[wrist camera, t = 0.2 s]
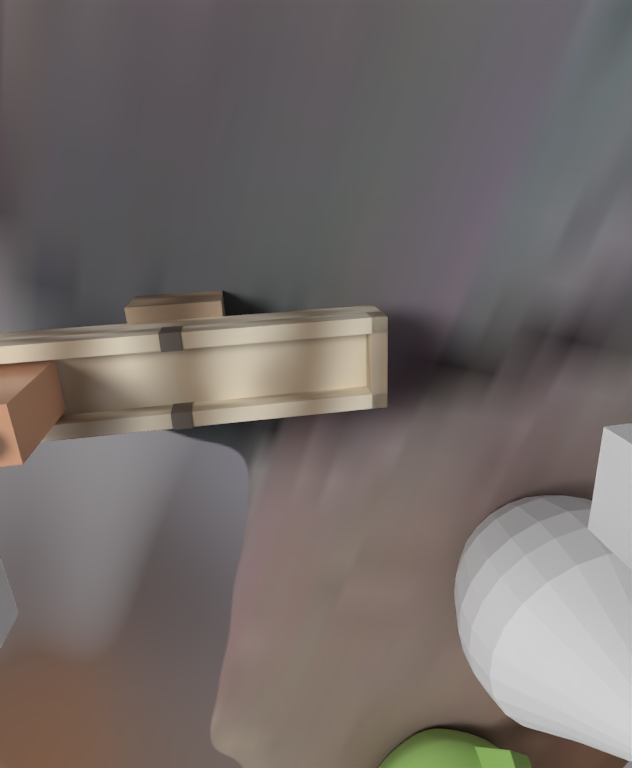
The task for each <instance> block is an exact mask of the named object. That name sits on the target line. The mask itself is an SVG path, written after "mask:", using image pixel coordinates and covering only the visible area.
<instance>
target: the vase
mask: <svg viewBox="0 0 632 768" xmlns="http://www.w3.org/2000/svg"><path fill="white" fill-rule="evenodd" d="M591 505H592V501H591V500H588V499H585V498H578V497H571V496H564V495H543V496H533V497H526V498H523V499H520V500H517V501H514V502H511V503H508V504H507V505H505V506H503V507H501V508H500V509H498V510H496V511H495V512H493V513H491V514H490V515H489V516H488V517H487V518H486V519H485V520H484V521H483V522H482V523H480V524H479V525H478V526H477V527H476V529H475V530H474V532H473V533H472V535H471V536H470V537H469V539H468V540H467V542H466V544H465V547H464V549H463V552H462V554H461V557H460V561H459V565H458V569H457V573H456V581H455V592H454V597H455V605H456V614H457V622H458V631H459V635H460V639H461V643H462V647H463V651H464V654H465V656H466V658H467V660H468V662H469V664H470V666H471V668H472V670H473V672H474V674H475V676H476V677H477V679H478V680H479V681H480V683H481V684H482V686H483V687H484V689H485V690H486V691H487V692H488V694H489V695H490V696H491V697H492V699H493V700H494V701H495V702H496V703H497V705H498V706H499V707H500V708H501V709H502V711H503V712H504V713H505V714H506V715H507V716H509V717H510V718H512V719H513V720H515V721H516V722H518V723H519V724H521V725H522V726H524V727H528V728H531V729H535V730H538V731H542V732H545V733H549V734H552V735H556V736H559V737H563V738H566V739H570V740H573V741H576V742H580V743H582V744H585V745H588V746H590V747H593V748H596V749H599V750H601V751H604V752H607V753H609V754H612V755H615V756H617V757H620V758H623V759H625V760H628V761H631V762H632V570H631V569H630V568H629V567H628V566H627V565H626V564H624V563H623V562H622V561H621V560H620V559H619V558H618V557H617V556H616V555H615V554H614V553H613V552H612V551H611V550H610V549H608V548H607V547H606V546H605V545H604V544H603V543H602V542H601V541H600V540H599V539H598V538H597V537H596V536H595V535H593V534H592V533H591V532H590V531H589V530H588V524H589V517H590V511H591Z"/></svg>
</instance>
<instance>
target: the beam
mask: <svg viewBox="0 0 632 768" xmlns="http://www.w3.org/2000/svg"><path fill="white" fill-rule="evenodd" d="M124 309H125V314H126V320H127V324H114V325H101V326H87V327H74V328H61V329H47V330H34V331H21V332H7V333H0V364H10V363H22V362H35V361H47V360H55V363H56V367H57V372H58V376H59V380H60V385H61V389H62V393H63V398H64V402H65V406H66V410H65V412H64V413H63V414H62V415H61V417H60V418H59V419H58V420H57V422H56V423H55V424H54V425H53V427H52V428H51V429H50V431H49V432H48V433H47V434H46V436H45V437H44V438H43V439H42V441H41V442H46V441H55V440H66V439H76V438H86V437H95V436H106V435H116V434H125V433H135V432H145V431H155V430H165V429H173V430H179V429H189V428H193V427H195V426H205V425H215V424H225V423H234V422H244V421H254V420H264V419H274V418H284V417H294V416H304V415H314V414H324V413H333V412H343V411H353V410H363V409H373V408H383V407H387V364H388V316H387V315H385V314H384V313H383V312H381V311H380V310H379V309H378V308H376V307H375V306H374V305H368V306H354V307H341V308H328V309H314V310H301V311H288V312H274V313H261V314H248V315H234V316H225V310H224V300H223V291H208V292H193V293H178V294H164V295H149V296H136V297H135V298H134V299H133V300H132V301H131V302H130V303H129V304H128V305H127V306H126V307H125V308H124Z"/></svg>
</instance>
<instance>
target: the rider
mask: <svg viewBox="0 0 632 768" xmlns="http://www.w3.org/2000/svg"><path fill="white" fill-rule="evenodd" d="M65 410H66V406H65V402H64V398H63V393H62V389H61V385H60V380H59V376H58V372H57V367H56V363H55V360H47V361H35V362H22V363H10V364H0V467H2V466H12V465H21V464H24V462H25V461H26V460H27V458H28V457H29V456H30V455H31V453H32V452H33V451H34V450H35V448H36V447H37V446H38V444H39V443H40V442H41V441H42V439H43V438H44V437H45V436H46V434H47V433H48V432H49V431H50V429H51V428H52V427H53V425H54V424H55V423H56V422H57V420H58V419H59V418H60V417H61V415H62V414H63V413H64V412H65Z"/></svg>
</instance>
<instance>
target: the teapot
mask: <svg viewBox="0 0 632 768" xmlns="http://www.w3.org/2000/svg"><path fill="white" fill-rule="evenodd" d="M378 768H532V766H531V763H530V760H529V757H528V756H527V755H524V754H521V753H517V752H514V751H511V750H504V749H499V748H498V747H496V746H495V745H493V744H492V743H490V742H488V741H487V740H485V739H483V738H480V737H478V736H475V735H472V734H469V733H466V732H461V731H457V730H450V729H429V730H425V731H422V732H419V733H417V734H415V735H413V736H411V737H410V738H408V739H407V740H405V741H404V742H402V743H401V744H400V745H399V746H398V747H396V748H395V749H394V750H393V751H392V752H391V753H390V754H389V755H388V756H387V757H386V758H385V759H384V760H383V761H382V762H381V764H380V765H379V766H378Z"/></svg>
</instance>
